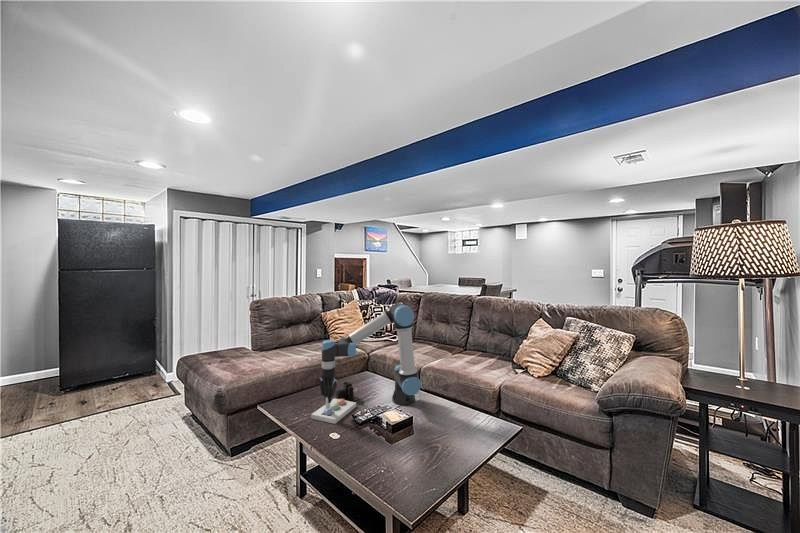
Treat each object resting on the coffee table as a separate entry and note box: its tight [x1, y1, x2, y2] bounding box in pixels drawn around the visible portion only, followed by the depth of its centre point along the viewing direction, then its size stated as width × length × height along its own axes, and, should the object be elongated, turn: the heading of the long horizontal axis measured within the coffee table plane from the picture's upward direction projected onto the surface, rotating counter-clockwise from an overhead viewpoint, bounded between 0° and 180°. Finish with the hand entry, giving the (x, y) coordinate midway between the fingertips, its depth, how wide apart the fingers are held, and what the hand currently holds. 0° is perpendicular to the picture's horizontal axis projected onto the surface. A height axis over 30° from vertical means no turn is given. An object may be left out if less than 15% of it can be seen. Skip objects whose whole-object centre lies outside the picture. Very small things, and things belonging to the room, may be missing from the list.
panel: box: [310, 397, 357, 424], centre depth 200 cm, size 16×24×2 cm, turn 158°
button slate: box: [324, 408, 332, 416], centre depth 194 cm, size 5×5×3 cm
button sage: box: [331, 403, 339, 411], centre depth 200 cm, size 5×5×3 cm
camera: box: [335, 381, 354, 402], centre depth 220 cm, size 14×11×10 cm
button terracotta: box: [337, 399, 345, 406], centre depth 207 cm, size 5×5×3 cm
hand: (327, 407), depth 194 cm, fingers closed
